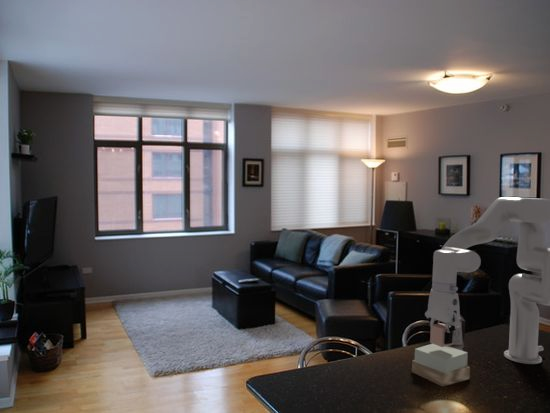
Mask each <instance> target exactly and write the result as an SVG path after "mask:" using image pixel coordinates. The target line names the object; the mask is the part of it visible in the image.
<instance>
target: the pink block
mask: <svg viewBox="0 0 550 413" xmlns="http://www.w3.org/2000/svg"><path fill="white" fill-rule="evenodd" d="M449 327H450V326H449ZM445 332H446V327H445V324H443V322H442V323H440V322H439V324H433V325H431V327H430V334H429V335H430V336H429V337H430V338H429V342H430V344H435V345H438V346H440V347H445V346H450V345H452V343H451V344H444V338H445ZM452 342H453V340H452Z"/></svg>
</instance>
